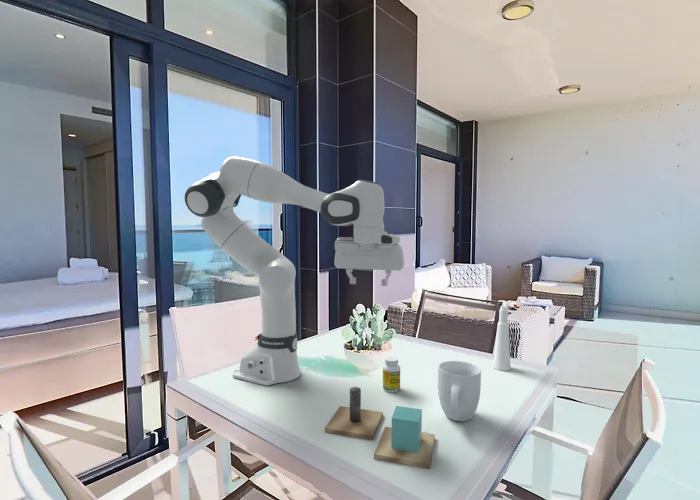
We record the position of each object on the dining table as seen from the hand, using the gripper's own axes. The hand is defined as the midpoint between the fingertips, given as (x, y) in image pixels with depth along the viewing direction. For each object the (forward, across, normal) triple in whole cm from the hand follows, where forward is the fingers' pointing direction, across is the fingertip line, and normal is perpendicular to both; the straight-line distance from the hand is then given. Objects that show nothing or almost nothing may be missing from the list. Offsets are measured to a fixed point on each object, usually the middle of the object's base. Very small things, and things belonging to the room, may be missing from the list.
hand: (368, 284), depth 115 cm
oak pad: (+33, +15, -24) cm, 44 cm away
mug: (+33, +26, -6) cm, 43 cm away
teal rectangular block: (+32, +15, -24) cm, 43 cm away
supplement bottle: (+33, +6, +6) cm, 34 cm away
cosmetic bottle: (+33, +40, +35) cm, 63 cm away
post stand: (+33, +1, -17) cm, 37 cm away
